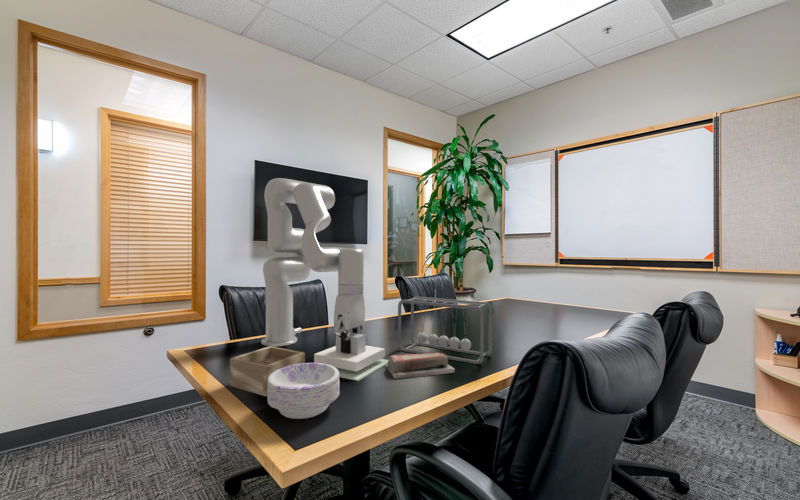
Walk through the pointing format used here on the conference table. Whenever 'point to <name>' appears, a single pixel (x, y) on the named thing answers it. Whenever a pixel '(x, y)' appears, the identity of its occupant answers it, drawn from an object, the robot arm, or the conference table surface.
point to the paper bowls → (303, 389)
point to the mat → (362, 370)
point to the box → (260, 367)
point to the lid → (350, 354)
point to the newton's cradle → (444, 340)
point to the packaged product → (418, 365)
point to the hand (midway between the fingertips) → (350, 350)
